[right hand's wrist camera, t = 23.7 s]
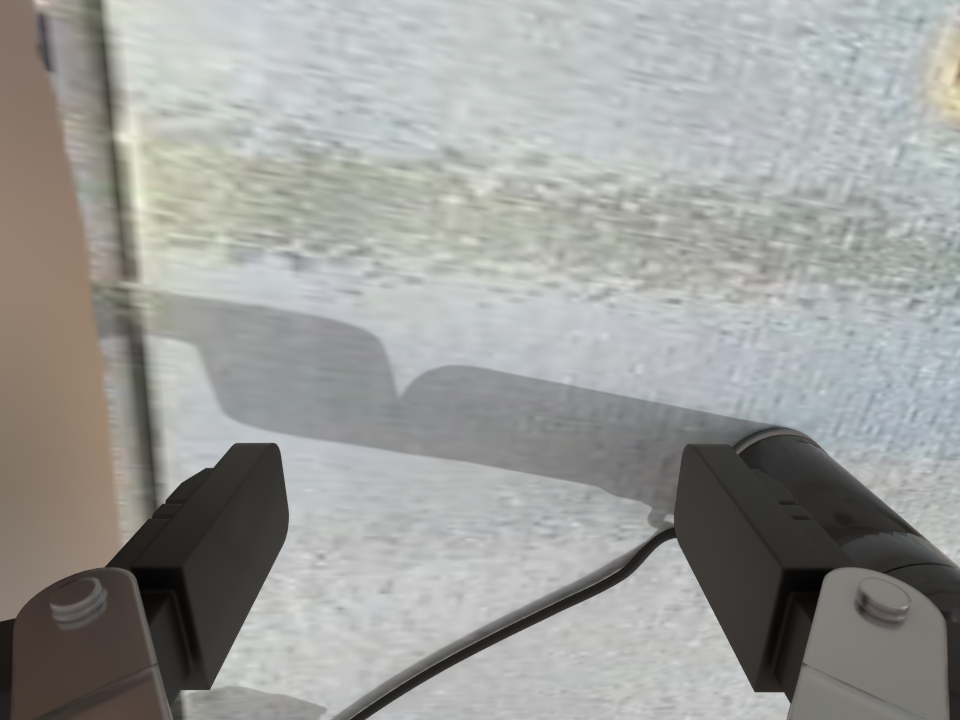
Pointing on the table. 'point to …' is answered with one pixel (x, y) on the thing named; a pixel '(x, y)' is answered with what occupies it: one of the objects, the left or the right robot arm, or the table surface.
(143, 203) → the table surface
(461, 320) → the table surface
